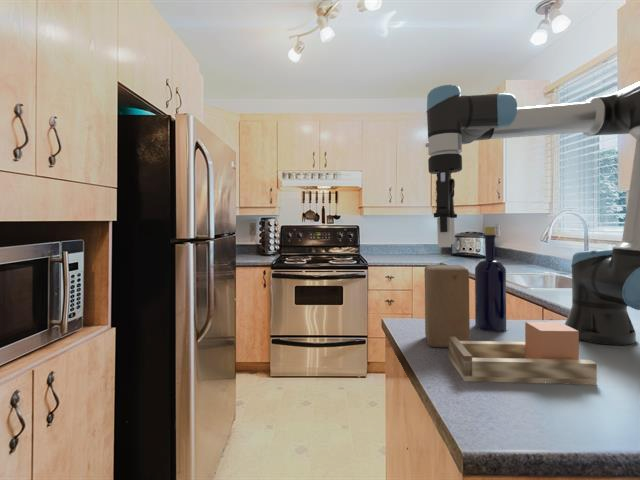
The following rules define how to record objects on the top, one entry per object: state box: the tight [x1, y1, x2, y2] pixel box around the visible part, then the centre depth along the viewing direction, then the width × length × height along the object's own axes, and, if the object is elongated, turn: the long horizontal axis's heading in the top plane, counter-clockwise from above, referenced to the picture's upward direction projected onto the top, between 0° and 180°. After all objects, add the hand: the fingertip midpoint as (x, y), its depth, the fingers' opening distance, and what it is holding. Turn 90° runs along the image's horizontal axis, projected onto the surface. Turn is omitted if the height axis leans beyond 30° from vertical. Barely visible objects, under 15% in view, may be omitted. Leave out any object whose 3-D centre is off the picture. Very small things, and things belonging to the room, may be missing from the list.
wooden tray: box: [448, 336, 598, 386], centre depth 77 cm, size 24×13×5 cm, turn 83°
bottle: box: [474, 226, 507, 333], centre depth 108 cm, size 9×9×30 cm
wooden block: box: [424, 264, 471, 349], centre depth 95 cm, size 10×10×20 cm
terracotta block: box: [524, 321, 580, 360], centre depth 76 cm, size 7×7×8 cm
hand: (447, 245), depth 87 cm, fingers open, 13 cm apart
